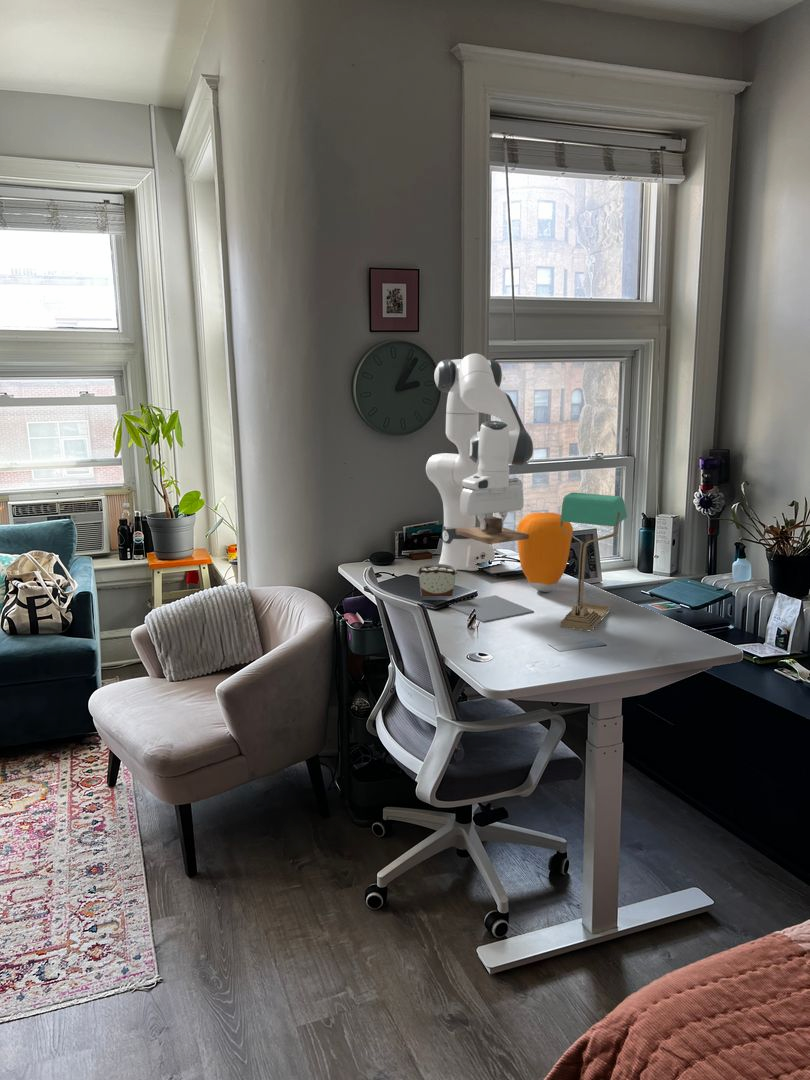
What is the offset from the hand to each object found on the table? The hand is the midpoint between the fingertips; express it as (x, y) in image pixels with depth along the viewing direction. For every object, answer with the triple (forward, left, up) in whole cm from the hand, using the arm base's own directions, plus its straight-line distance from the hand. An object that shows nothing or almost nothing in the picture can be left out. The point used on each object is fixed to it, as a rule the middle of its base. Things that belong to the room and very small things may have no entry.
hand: (491, 528), depth 232 cm
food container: (+7, -17, -24) cm, 30 cm away
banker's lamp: (-18, +21, -24) cm, 37 cm away
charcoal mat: (0, 0, -24) cm, 24 cm away
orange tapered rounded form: (-25, -6, -24) cm, 35 cm away
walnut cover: (0, 0, -2) cm, 2 cm away
